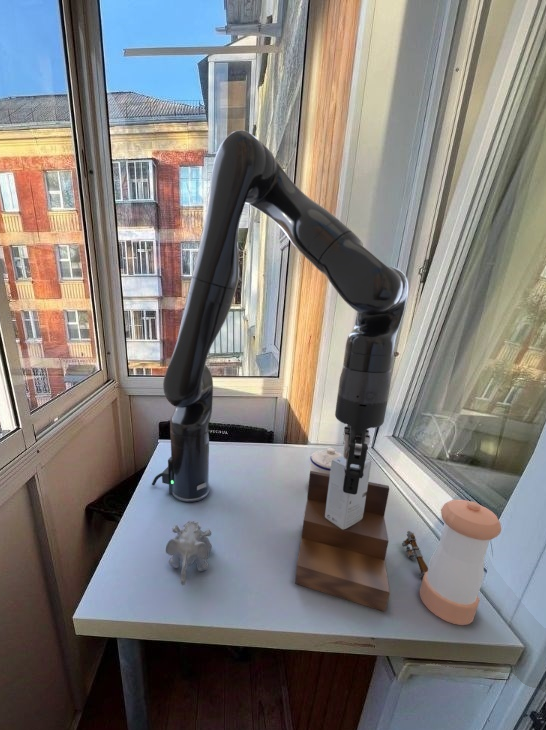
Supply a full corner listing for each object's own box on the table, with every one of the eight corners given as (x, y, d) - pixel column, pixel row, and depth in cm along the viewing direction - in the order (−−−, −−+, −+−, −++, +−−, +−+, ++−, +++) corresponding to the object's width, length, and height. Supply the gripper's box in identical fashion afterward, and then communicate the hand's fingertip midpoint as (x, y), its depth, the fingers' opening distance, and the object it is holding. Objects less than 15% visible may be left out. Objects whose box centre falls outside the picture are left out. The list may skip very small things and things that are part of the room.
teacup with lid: (314, 502, 80) (319, 458, 76) (302, 480, 88) (306, 441, 85) (363, 500, 80) (371, 457, 77) (346, 479, 89) (352, 440, 85)
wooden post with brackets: (406, 539, 66) (415, 528, 63) (424, 583, 60) (435, 573, 57) (396, 539, 67) (405, 528, 64) (414, 583, 61) (424, 573, 58)
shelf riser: (295, 583, 58) (302, 515, 54) (304, 528, 71) (310, 470, 67) (385, 612, 53) (401, 539, 49) (377, 546, 66) (388, 485, 62)
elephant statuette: (208, 541, 67) (208, 509, 65) (224, 592, 56) (225, 555, 54) (162, 548, 66) (161, 516, 63) (170, 602, 54) (168, 565, 52)
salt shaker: (431, 577, 59) (455, 483, 53) (481, 609, 53) (515, 507, 47) (411, 598, 55) (434, 499, 49) (463, 634, 49) (496, 527, 44)
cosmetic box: (344, 531, 59) (353, 471, 55) (322, 517, 62) (330, 459, 59) (364, 518, 62) (374, 460, 58) (342, 505, 66) (351, 450, 62)
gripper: (338, 380, 63) (328, 458, 68) (337, 404, 50) (325, 498, 55) (383, 385, 60) (369, 466, 65) (393, 411, 47) (375, 509, 52)
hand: (349, 480), depth 60 cm, fingers closed on cosmetic box, 7 cm apart
